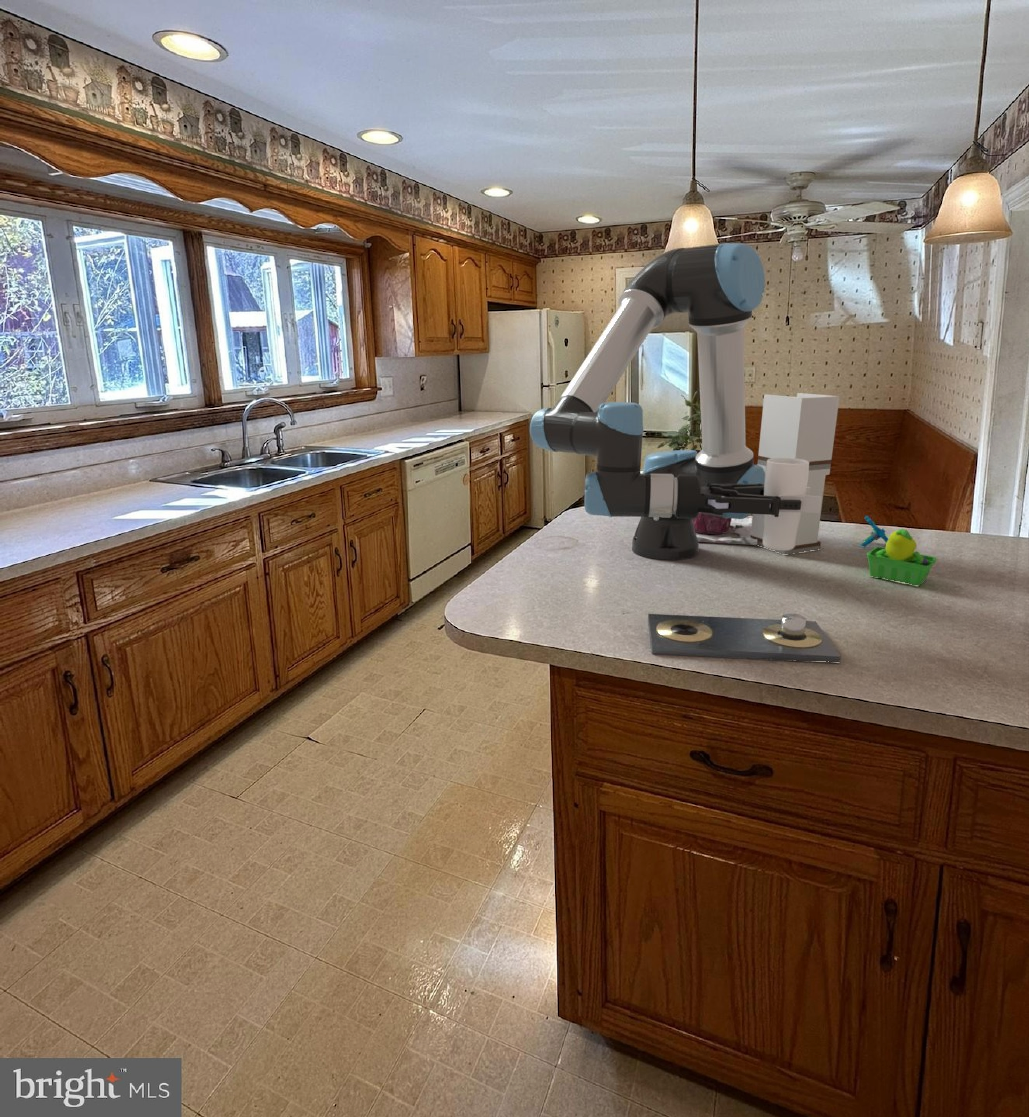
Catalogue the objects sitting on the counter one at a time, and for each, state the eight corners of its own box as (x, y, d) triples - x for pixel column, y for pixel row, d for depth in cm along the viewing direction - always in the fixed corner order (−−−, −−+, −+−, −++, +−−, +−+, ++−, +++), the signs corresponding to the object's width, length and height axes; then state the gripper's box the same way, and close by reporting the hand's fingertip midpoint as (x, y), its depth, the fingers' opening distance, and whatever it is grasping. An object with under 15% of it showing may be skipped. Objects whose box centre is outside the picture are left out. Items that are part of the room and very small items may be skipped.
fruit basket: (933, 581, 143) (943, 527, 140) (921, 592, 137) (931, 536, 134) (873, 569, 151) (881, 517, 147) (859, 579, 145) (867, 525, 141)
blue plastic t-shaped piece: (901, 549, 159) (870, 515, 160) (878, 565, 161) (848, 531, 163) (896, 543, 169) (867, 511, 170) (874, 559, 171) (846, 527, 173)
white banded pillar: (819, 550, 164) (839, 396, 154) (784, 555, 160) (802, 398, 150) (784, 538, 174) (800, 393, 164) (749, 543, 170) (764, 394, 160)
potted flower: (754, 520, 190) (764, 386, 179) (757, 544, 167) (769, 393, 157) (653, 515, 197) (658, 386, 187) (643, 538, 174) (648, 393, 164)
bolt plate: (814, 627, 120) (818, 603, 119) (839, 663, 107) (843, 636, 106) (647, 620, 124) (649, 596, 123) (651, 653, 111) (653, 627, 109)
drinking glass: (798, 544, 124) (808, 458, 119) (800, 554, 118) (811, 465, 113) (757, 540, 126) (766, 456, 121) (757, 551, 120) (766, 463, 115)
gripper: (669, 505, 132) (797, 508, 129) (678, 531, 113) (828, 536, 111) (671, 465, 130) (802, 467, 127) (681, 485, 111) (834, 489, 108)
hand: (814, 499), depth 119 cm, fingers closed on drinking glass, 6 cm apart
